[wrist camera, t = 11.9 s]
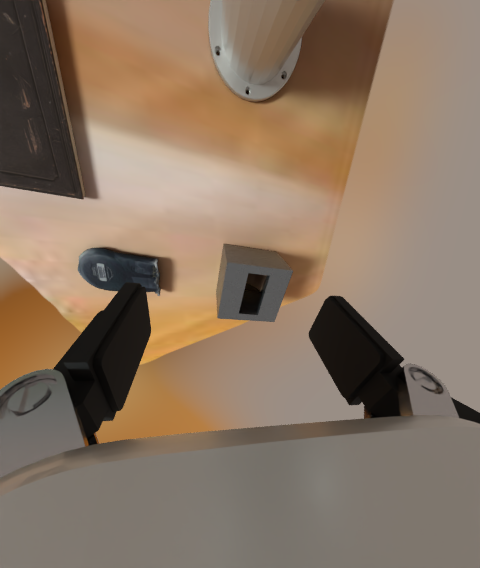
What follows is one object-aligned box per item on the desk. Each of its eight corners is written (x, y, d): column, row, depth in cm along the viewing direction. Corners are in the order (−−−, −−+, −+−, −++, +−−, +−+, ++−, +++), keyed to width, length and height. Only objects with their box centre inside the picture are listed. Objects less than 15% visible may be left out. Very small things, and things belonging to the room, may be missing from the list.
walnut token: (250, 256, 39) (269, 266, 37) (255, 255, 41) (274, 264, 39) (243, 280, 42) (260, 290, 40) (248, 278, 44) (265, 288, 41)
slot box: (223, 243, 39) (227, 262, 30) (276, 251, 41) (293, 270, 32) (216, 291, 44) (217, 318, 36) (262, 295, 47) (274, 321, 38)
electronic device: (161, 248, 39) (74, 242, 34) (158, 262, 35) (60, 257, 30) (162, 282, 44) (88, 281, 40) (160, 298, 40) (77, 299, 36)
